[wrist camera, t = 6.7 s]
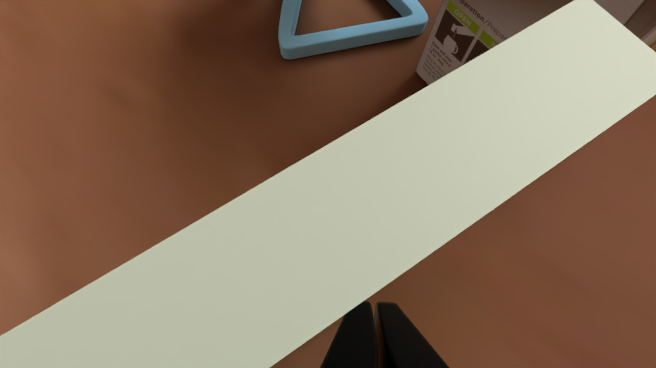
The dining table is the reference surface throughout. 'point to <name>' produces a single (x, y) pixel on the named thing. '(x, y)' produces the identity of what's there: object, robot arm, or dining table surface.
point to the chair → (348, 30)
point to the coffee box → (509, 28)
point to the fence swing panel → (351, 209)
